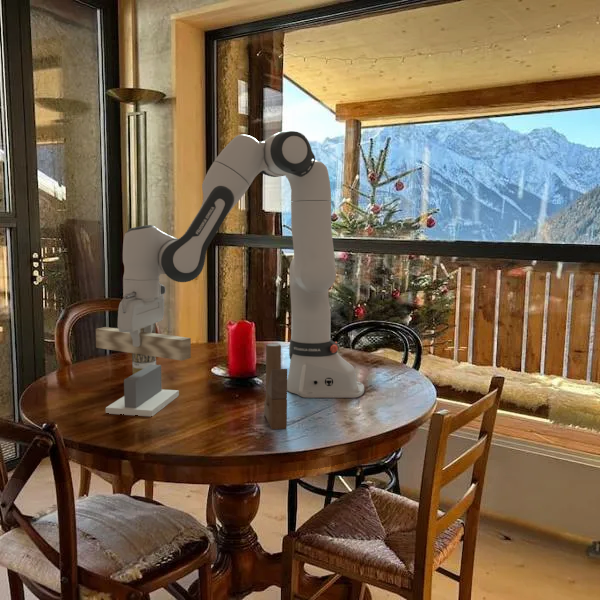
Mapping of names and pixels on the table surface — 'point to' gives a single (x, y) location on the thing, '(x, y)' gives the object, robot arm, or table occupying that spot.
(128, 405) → the ridge stand
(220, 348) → the table surface
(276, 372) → the wooden block
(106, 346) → the beige zigzag bar
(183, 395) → the table surface
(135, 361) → the grey brown tall cylinder
